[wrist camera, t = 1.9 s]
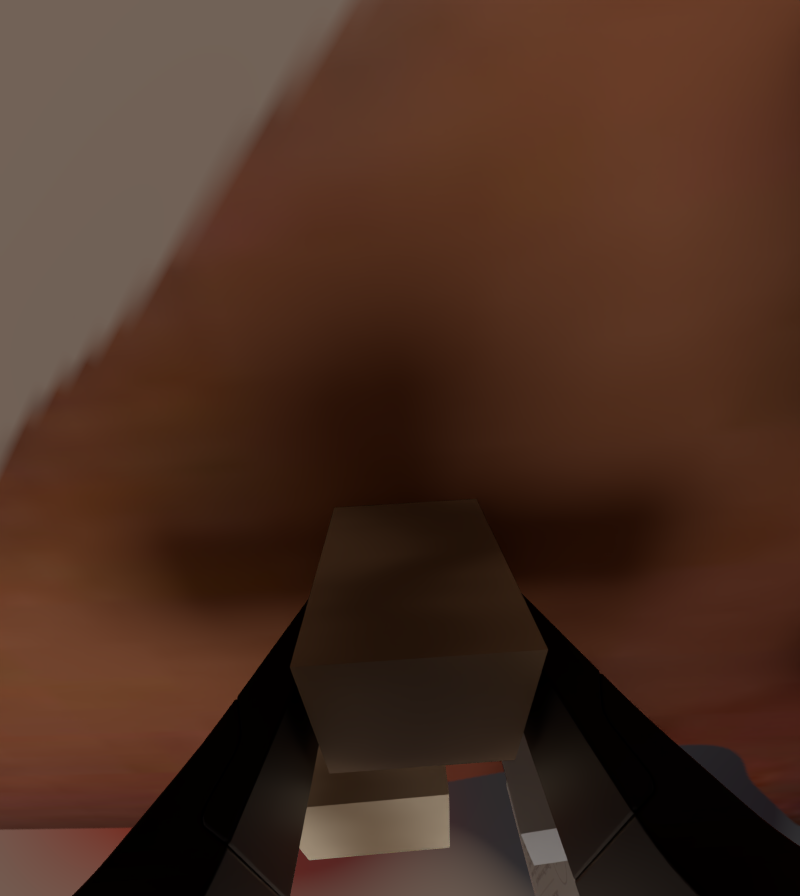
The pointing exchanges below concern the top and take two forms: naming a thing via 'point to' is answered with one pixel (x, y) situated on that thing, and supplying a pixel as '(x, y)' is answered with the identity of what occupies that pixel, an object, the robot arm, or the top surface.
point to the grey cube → (532, 809)
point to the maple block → (375, 811)
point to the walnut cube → (415, 641)
